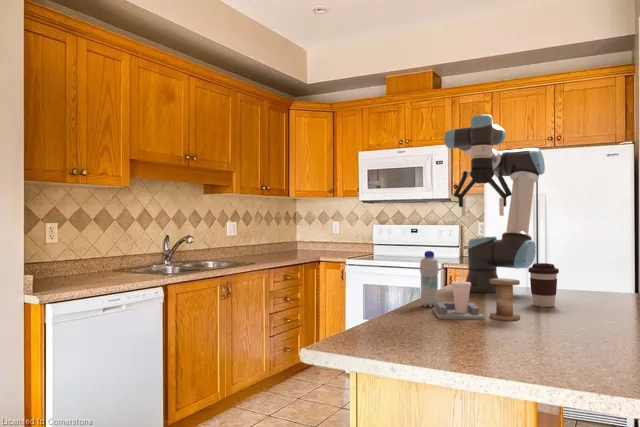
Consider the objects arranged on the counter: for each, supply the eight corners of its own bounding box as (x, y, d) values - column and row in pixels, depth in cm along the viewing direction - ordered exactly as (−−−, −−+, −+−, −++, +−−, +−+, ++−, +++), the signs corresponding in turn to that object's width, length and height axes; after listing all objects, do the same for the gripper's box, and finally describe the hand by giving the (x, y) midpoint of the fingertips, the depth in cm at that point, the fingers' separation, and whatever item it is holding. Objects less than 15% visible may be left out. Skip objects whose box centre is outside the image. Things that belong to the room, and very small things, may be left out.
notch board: (432, 310, 169) (432, 301, 169) (474, 310, 168) (474, 302, 168) (439, 319, 155) (439, 309, 155) (484, 319, 154) (484, 310, 154)
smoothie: (472, 314, 157) (472, 270, 157) (451, 313, 158) (451, 270, 158) (470, 310, 163) (470, 268, 163) (450, 309, 165) (450, 268, 165)
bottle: (437, 304, 180) (437, 250, 180) (440, 308, 173) (439, 251, 173) (419, 304, 180) (418, 250, 180) (421, 307, 174) (420, 251, 174)
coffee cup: (564, 308, 171) (563, 265, 171) (535, 308, 172) (535, 265, 172) (551, 303, 181) (551, 262, 181) (524, 303, 181) (524, 262, 181)
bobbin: (486, 314, 161) (486, 278, 161) (514, 315, 160) (514, 278, 160) (494, 320, 152) (493, 282, 152) (523, 321, 151) (523, 282, 151)
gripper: (448, 157, 176) (449, 216, 176) (520, 156, 174) (520, 215, 174) (445, 159, 184) (446, 216, 184) (513, 158, 182) (514, 215, 182)
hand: (482, 216), depth 179 cm, fingers open, 13 cm apart
